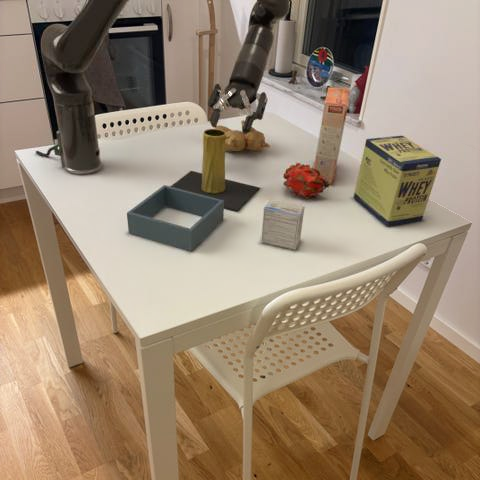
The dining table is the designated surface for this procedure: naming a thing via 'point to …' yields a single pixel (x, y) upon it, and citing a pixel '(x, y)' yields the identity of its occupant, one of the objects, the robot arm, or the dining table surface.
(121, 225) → the dining table surface
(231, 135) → the ginger root
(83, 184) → the dining table surface
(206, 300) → the dining table surface
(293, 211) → the medicine box
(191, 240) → the tub
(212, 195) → the mat
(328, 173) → the cracker box
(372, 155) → the protein box
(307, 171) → the dragon fruit
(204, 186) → the vase
